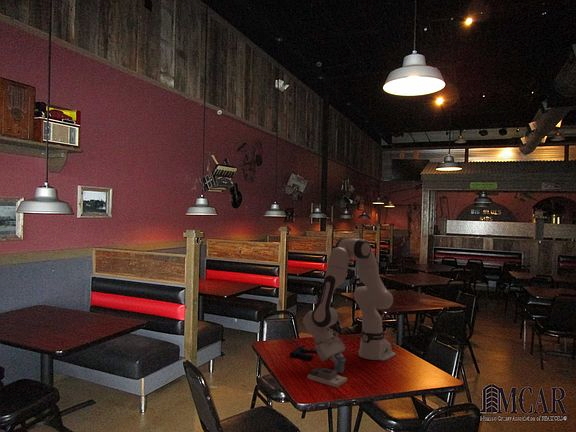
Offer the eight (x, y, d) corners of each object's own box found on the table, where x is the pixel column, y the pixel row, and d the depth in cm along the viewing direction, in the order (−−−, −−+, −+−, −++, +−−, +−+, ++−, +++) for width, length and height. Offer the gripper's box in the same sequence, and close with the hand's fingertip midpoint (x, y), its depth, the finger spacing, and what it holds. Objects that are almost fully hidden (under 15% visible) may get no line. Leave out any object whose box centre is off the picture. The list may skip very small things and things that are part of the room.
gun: (324, 351, 239) (301, 348, 245) (325, 347, 240) (301, 343, 245) (313, 362, 217) (287, 358, 223) (313, 357, 217) (287, 353, 223)
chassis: (307, 378, 193) (307, 370, 193) (318, 372, 201) (318, 364, 201) (336, 387, 183) (336, 378, 183) (347, 381, 191) (347, 372, 191)
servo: (332, 370, 204) (332, 353, 205) (335, 369, 207) (335, 352, 207) (342, 373, 201) (343, 356, 201) (345, 371, 203) (346, 355, 204)
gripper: (317, 340, 200) (333, 364, 194) (338, 332, 217) (353, 354, 210) (309, 347, 203) (325, 371, 197) (330, 339, 219) (346, 361, 213)
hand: (340, 362), depth 204 cm, fingers closed on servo, 3 cm apart
